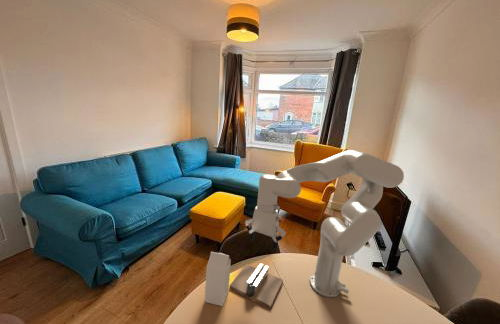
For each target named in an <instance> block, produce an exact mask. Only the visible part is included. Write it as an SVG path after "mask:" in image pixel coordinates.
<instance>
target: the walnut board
mask: <svg viewBox="0 0 500 324" xmlns="http://www.w3.org/2000/svg"><path fill="white" fill-rule="evenodd" d="M256 269H257V267H254V266H252V265H249V264H245V266H244V267H243V268H242V269H241V271H239V273H238V274H237V275H236V276H235V278H234V279H233V280H232V281H231V283H229V288H228V290H229V289H230V290H231V291H233V292H235V293H238V294H239V295H242V296H243V297H245V298H247V299H249V300H252V301H253V302H255V303H257V304H259V305H260V306H263V307H265V308H267V309H269V310H271V308H272V307H273V304H274V302H275V300H276V298H277V295H278V293H279V291H280V290H281V287H282V285H283V283H284V280H283V279H282V278H279V277H277V276H275V275H272V274H271V273H268V275H267V276H266V278H265V280H264V281H263V283H262V285H261V286H260V288H259V290H258V291H257V293H256V295H254V294H253V296H252V297H248V296H247V291H246V289H247V282H248V280H249V279H250V277H251V276H252V275H253V273H254V272H255V270H256Z"/></svg>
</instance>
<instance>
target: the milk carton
mask: <svg viewBox="0 0 500 324" xmlns="http://www.w3.org/2000/svg"><path fill="white" fill-rule="evenodd" d="M231 261H232V259H231V258H230V255H228V254H225V253H222V252H214V251H210V254H209V259H208V262H207V264H206V272H205V289H204V302H205V303H209V304H212V305H216V306H220V307H223V306H224V303H225V301H226V297H227V295H228V293H229V287H230V273H231Z"/></svg>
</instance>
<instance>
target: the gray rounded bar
mask: <svg viewBox="0 0 500 324" xmlns="http://www.w3.org/2000/svg"><path fill="white" fill-rule="evenodd" d="M256 268H257V269H256V270H255V272H254V273H253V275H252V276H251V277H250V279H249V280H248V282H247V289H246V291H247V296H248V297H252V296H253V294H254V295H256V293H257V291H258V290H259V288H260V286H261V285H262V283H263V281H264V280H265V278H266V276H267V275H268V274H269V266H268V265H265V266H264V264H263V263H261V262H260V263H259V265H258V266H257V267H256Z"/></svg>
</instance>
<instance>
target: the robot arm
mask: <svg viewBox="0 0 500 324" xmlns="http://www.w3.org/2000/svg"><path fill="white" fill-rule="evenodd" d="M349 174H353V175H355V176H356V177H360V178H361V183H360V186H359V188H358V189H357V190H356V191H355V193H353V194H352V196H350V198H349V199H348V200H347V201H346V202H345V203H343V205H342V206H341V208H340V214H341V216H342V217H343V219H344V220H346V222H348V223H349V225H347V224H346V223H345V222H344V221H343V220H342V219H340V218H339V217H336V216H329V217H327V218H325V219H324V220H323V221H322V223H321V226H320V241H319V243H320V244H319V249H318V254H317V259H316V263H315V264H316V265H315V270H314V271H315V272H314V273H313V274H312V275H311V276H310V278H309V284H310V286H311V288H312V289H313V290H314V292H316V293H317V294H319V295H321V296H323V297H326V298H336V297H337V296H339V294H340V293H341V292H342V293H345V294H349V292H350V289H349V288H348V287H347V285H346V283H343V282H341V281H340V272H341V267H342V263H343V259H344V257H351V256H353V255H355V254H356V253H358V252H359V250H361V249H362V248H363V247H364V246H365V245H366V243H368V242H369V241H370V240H371V239H372V238H373V237H374V236H375V235H376V233H378V231H379V229H380V227H381V223H382V222H381V217H380V215H379V214H378V212H377V211H375V209H374V208H375V207H376V206H377V205H378V204H379V202H380V201H381V199H382V197H383V194H384V192H383V191H384V188H386V189H387V188H388V189H389V188H391V189H392V188H396V187H398V186H400V185H401V184H402V182H403V181H404V178H405V175H404V171H403V169H402V168H401V167H400V166H399V165H397V164H394V163H391V162H389V161H387V160H384V159H381V158H380V157H379V158H378V157H376V156H374V155H372V154H370V153H368V152H365V151H364V152H363V151H361V150H356V149H348V150H347V149H346V150H345V151H342V152H339V153H336V154H334V155H332V156H329V157H327V158H324V159H322V160H319V161H316V162H310V163H309V162H308V163H305V164H299V165H295V166H293V167H290V168H288V169H286V170H285V169H284V170H283V171H281V172H280V173H278V174H277V175H275V174H270V173H266V174H264V173H263V174H262V175H260V177H259V181H258V193H257V202H256V206H255V208H254V211H253V214H252V215H253V216H252V218H249V219H245V221H244V223H245V226H246V230H247V231H248V234H249V243H250V244H252V243H253V242H254V241H255V240H256V233H259V234H262V235H265V236H269V237H271V238H272V240H273V241H272V247H271V251H272V252H274V251H275V250H276V249H277V248H278V245H279V241H281V240H282V239H283V238H284V237H285V236H286V234H287V233H286V231H285V230H284V229H282V228H281V227H280V226H279V224H280V223H279V221H280V219H279V210H280V209H281V206H279V205H278V197H282V198H287V199H294V198H296V197H298V196H300V194H301V191H302V186H301V184H300V183H303V182H318V183H319V182H320V183H328V182H331V181H333V180H336V179H339V178H341V177H344V176H346V175H349ZM278 233H279V234H280V235H279V234H278Z"/></svg>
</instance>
